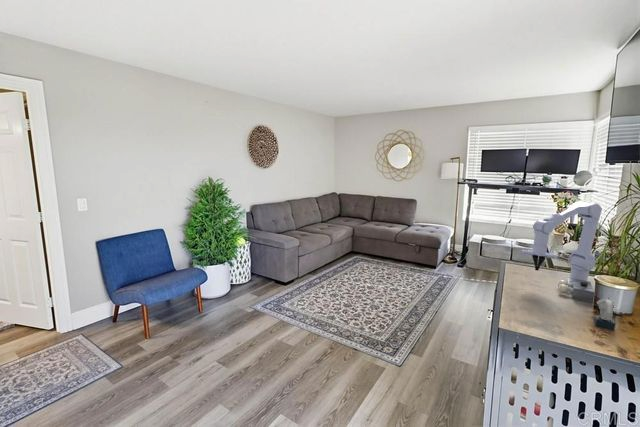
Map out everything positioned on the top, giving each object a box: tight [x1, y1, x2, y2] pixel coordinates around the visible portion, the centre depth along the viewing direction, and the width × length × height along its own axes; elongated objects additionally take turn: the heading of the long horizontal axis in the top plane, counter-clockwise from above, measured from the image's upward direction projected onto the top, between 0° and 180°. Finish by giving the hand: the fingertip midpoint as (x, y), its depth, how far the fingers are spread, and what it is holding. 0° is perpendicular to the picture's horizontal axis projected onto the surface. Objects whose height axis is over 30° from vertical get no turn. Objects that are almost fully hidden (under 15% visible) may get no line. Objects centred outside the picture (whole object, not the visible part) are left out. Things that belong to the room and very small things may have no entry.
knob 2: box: [557, 279, 572, 288], centre depth 156 cm, size 12×4×4 cm, turn 56°
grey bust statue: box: [593, 298, 616, 332], centre depth 123 cm, size 6×8×11 cm
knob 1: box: [558, 284, 573, 294], centre depth 150 cm, size 12×4×4 cm, turn 56°
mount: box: [569, 278, 596, 304], centre depth 151 cm, size 15×8×7 cm, turn 146°
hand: (536, 269), depth 159 cm, fingers closed
